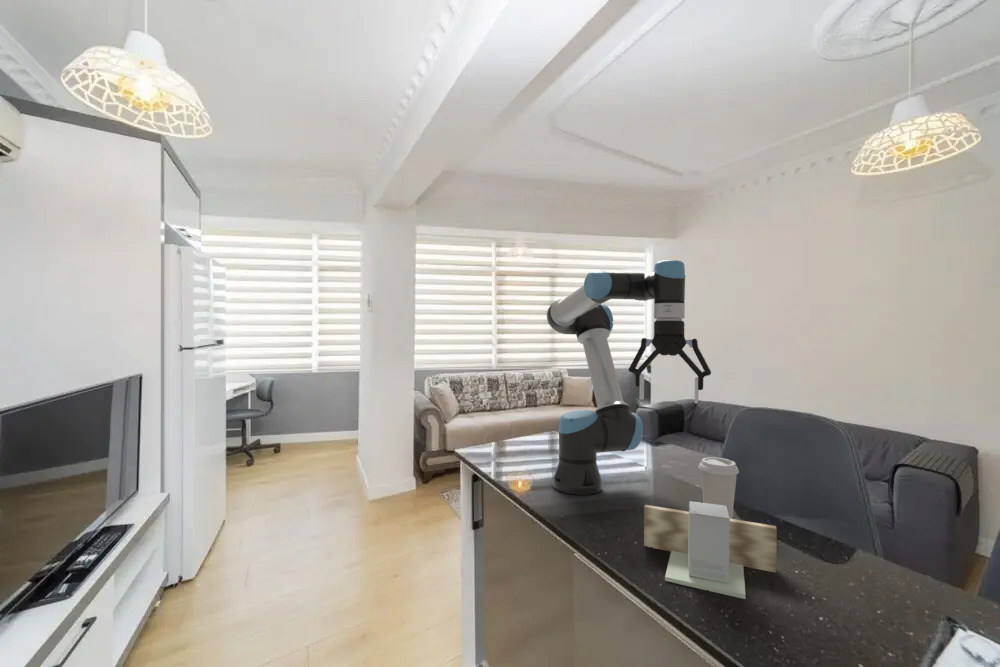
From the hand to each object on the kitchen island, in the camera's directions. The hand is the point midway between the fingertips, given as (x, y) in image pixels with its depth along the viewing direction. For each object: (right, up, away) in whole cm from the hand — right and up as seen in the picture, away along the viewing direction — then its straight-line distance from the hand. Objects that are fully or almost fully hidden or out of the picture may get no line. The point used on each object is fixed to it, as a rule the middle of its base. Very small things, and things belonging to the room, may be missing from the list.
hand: (668, 400), depth 122 cm
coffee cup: (+13, -31, 0) cm, 34 cm away
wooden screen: (+1, -31, -21) cm, 37 cm away
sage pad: (-3, -31, -28) cm, 42 cm away
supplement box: (-2, -30, -29) cm, 42 cm away
